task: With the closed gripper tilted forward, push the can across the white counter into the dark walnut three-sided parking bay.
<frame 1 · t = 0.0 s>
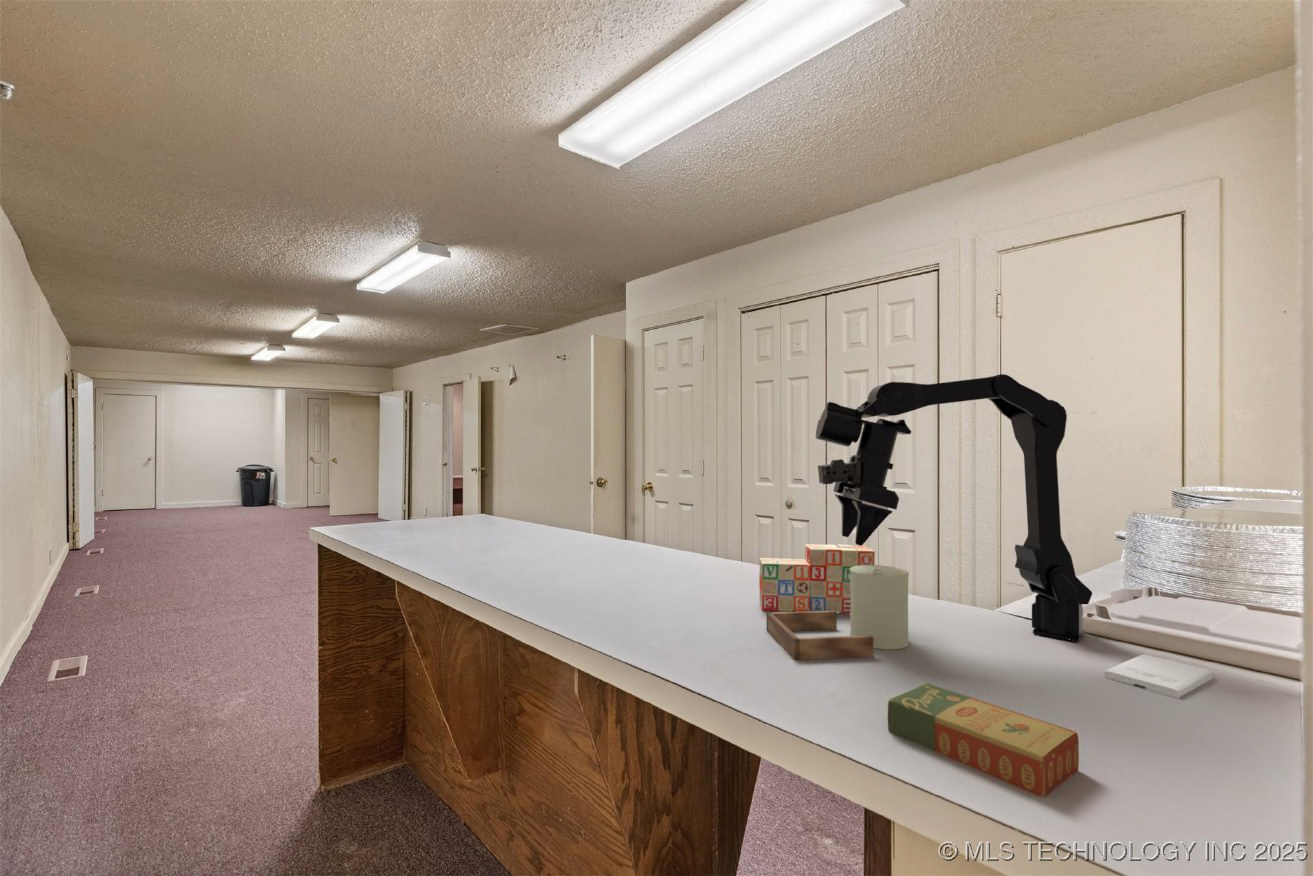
hand: (851, 540, 105), 15 cm above the counter, tool pointing down, fingers open, 9 cm apart
stack of blocks: (815, 610, 119), on the counter
carton: (976, 754, 64), on the counter
can: (878, 641, 99), on the counter
external hard drive: (1158, 682, 84), on the counter
walnut bay: (820, 642, 98), on the counter
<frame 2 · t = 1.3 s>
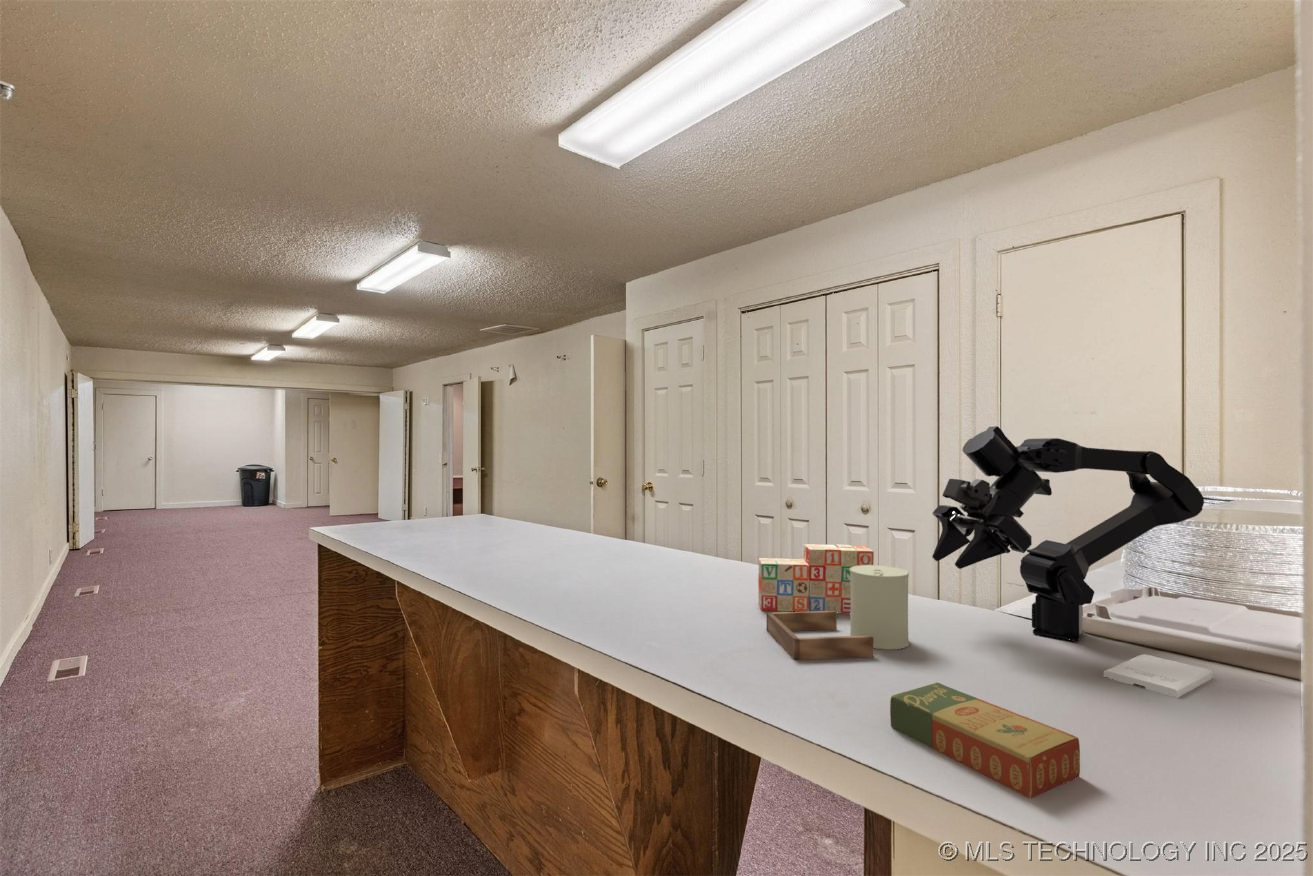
hand: (945, 562, 101), 13 cm above the counter, tool tilted 45°, fingers open, 6 cm apart
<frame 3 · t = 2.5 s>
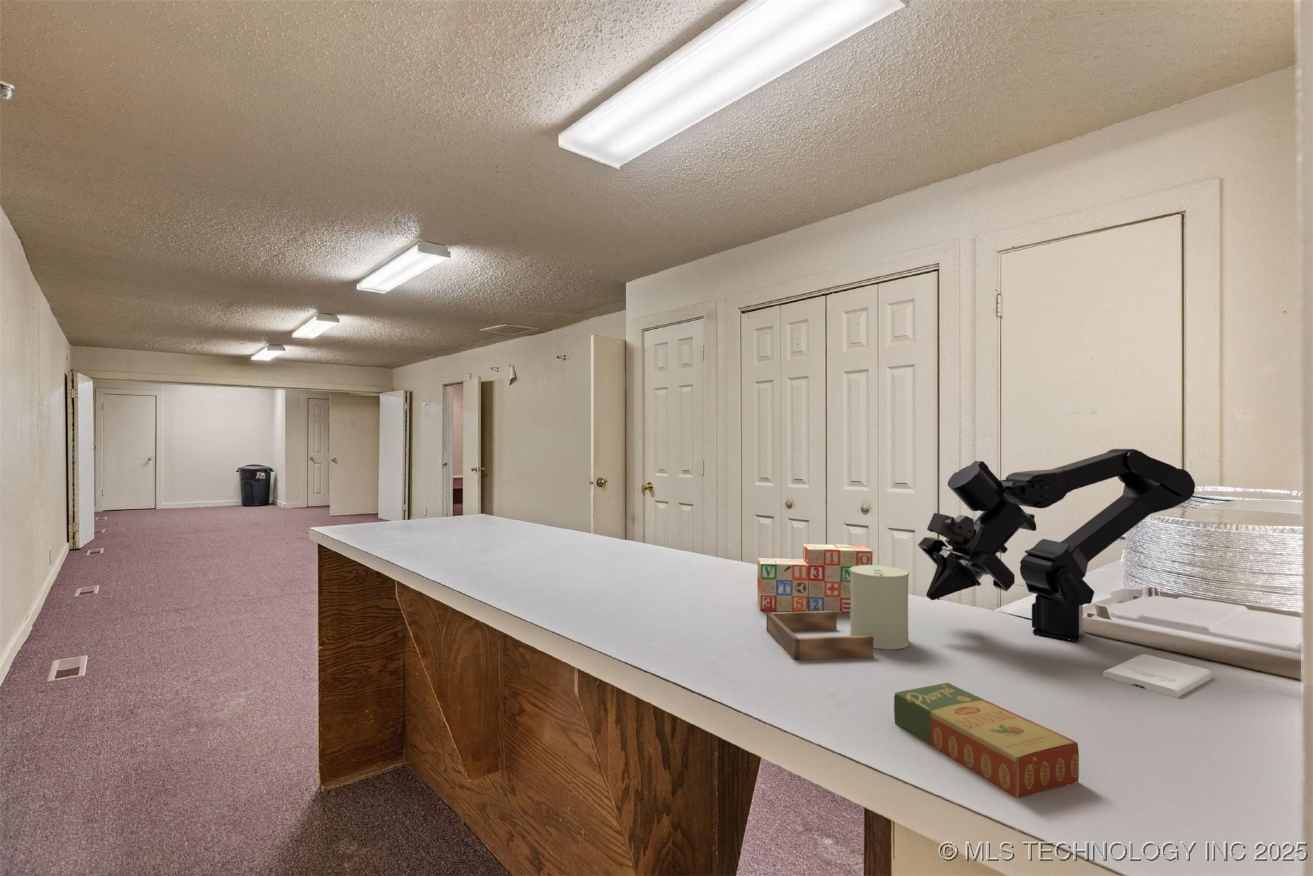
hand: (929, 597, 100), 7 cm above the counter, tool tilted 45°, fingers closed
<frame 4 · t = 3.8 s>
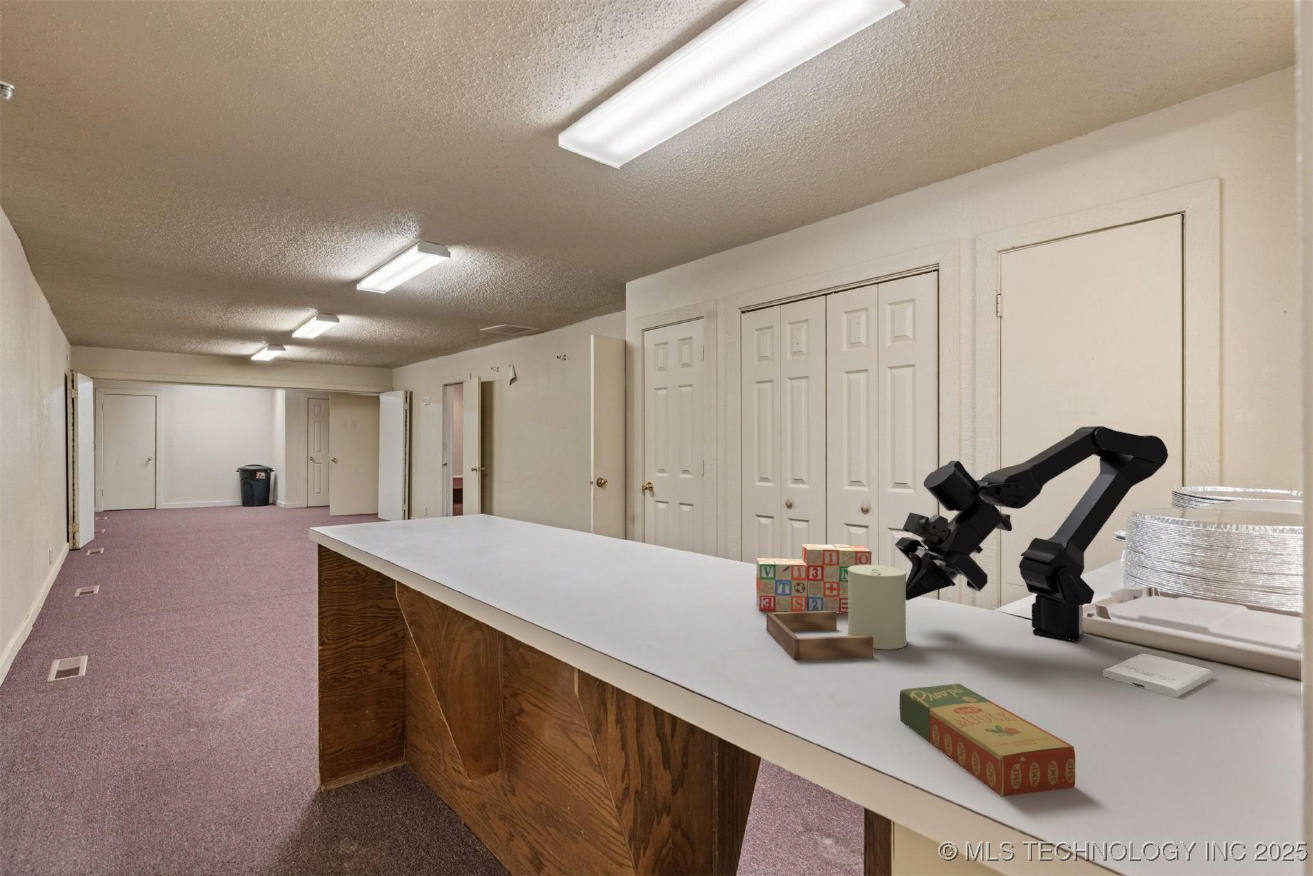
hand: (903, 598, 100), 7 cm above the counter, tool tilted 45°, fingers closed, pressing on can
can: (876, 641, 99), on the counter, touching gripper
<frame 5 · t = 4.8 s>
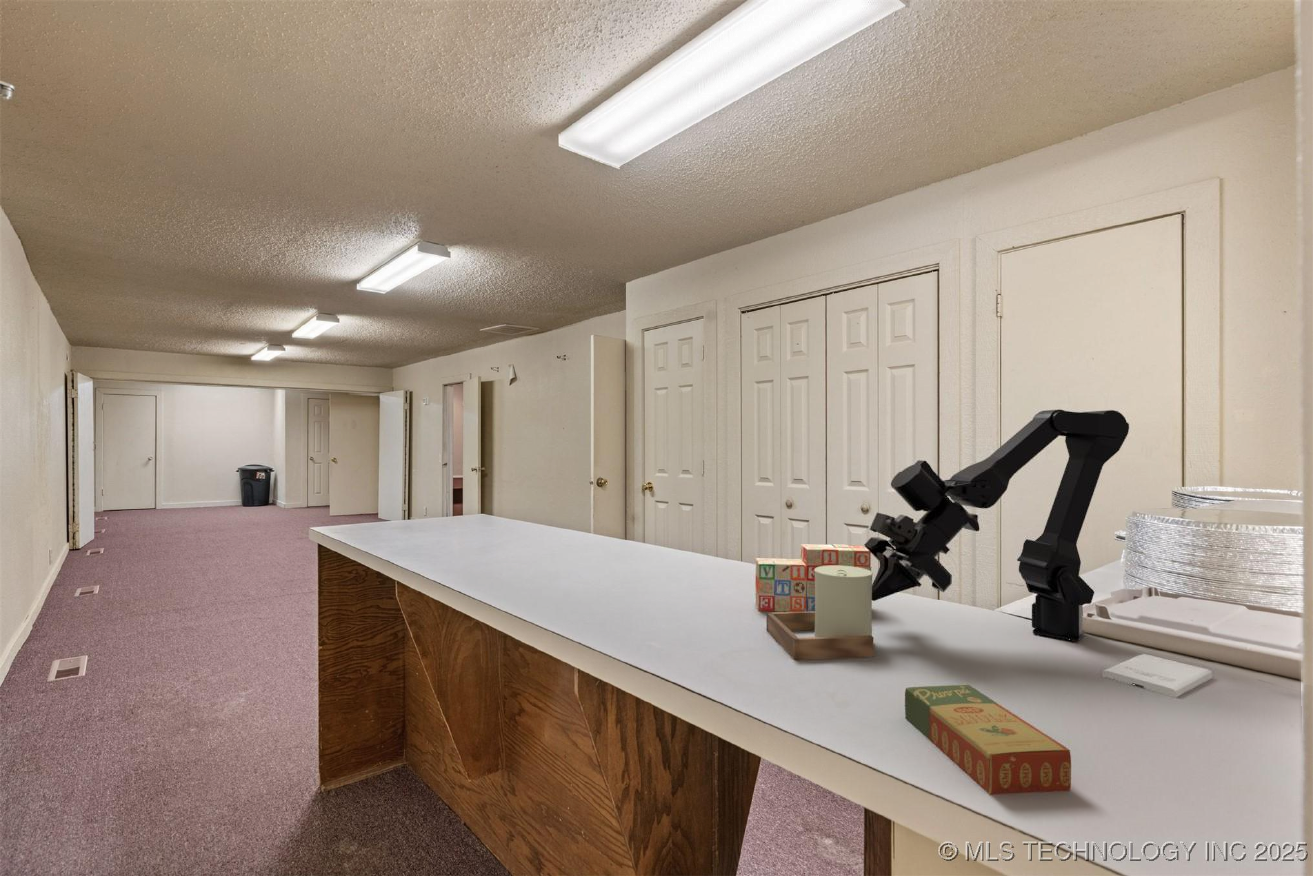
hand: (870, 598, 99), 7 cm above the counter, tool tilted 45°, fingers closed, pressing on can
can: (842, 642, 99), on the counter, touching gripper
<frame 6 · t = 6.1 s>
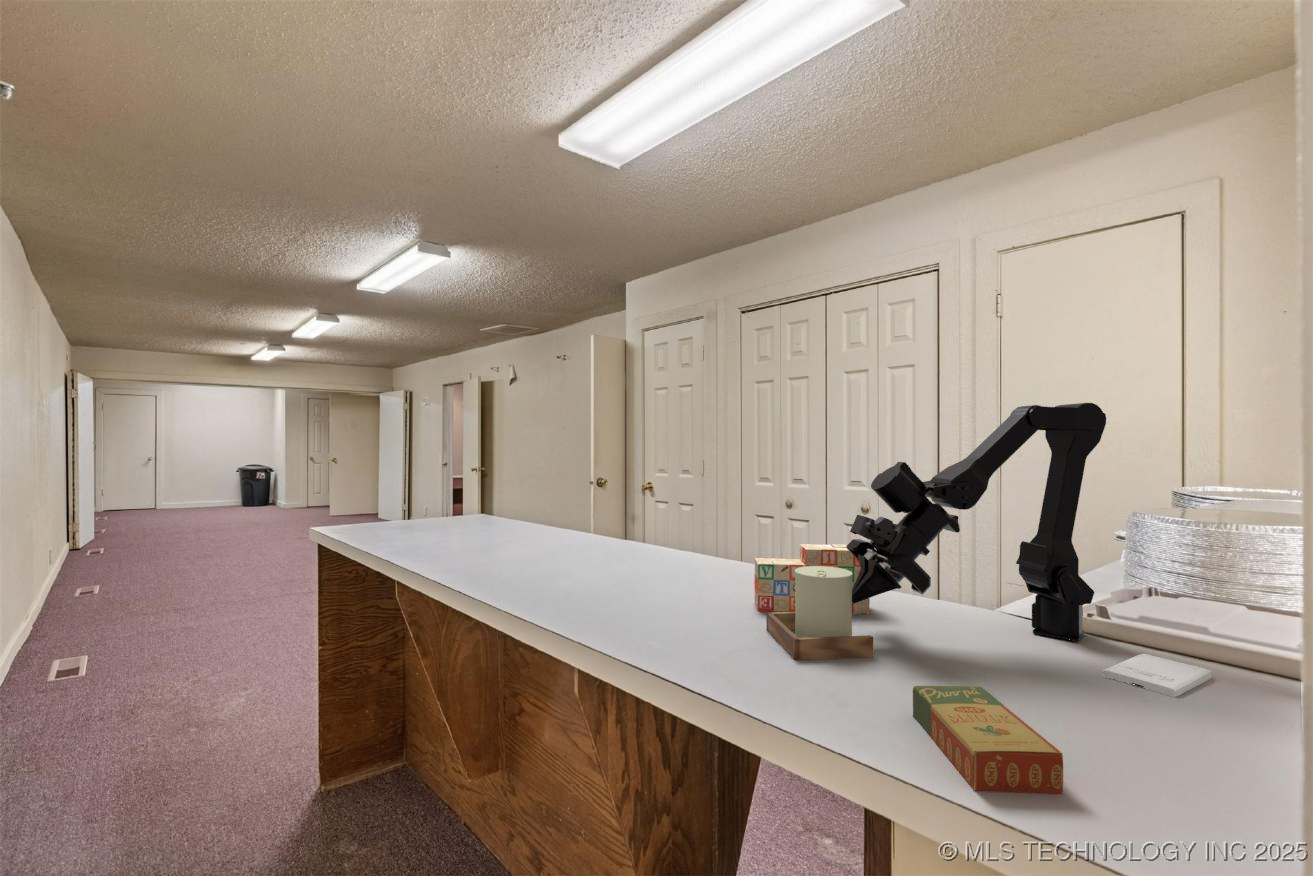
hand: (850, 601, 99), 7 cm above the counter, tool tilted 45°, fingers closed
can: (823, 643, 98), on the counter, touching gripper
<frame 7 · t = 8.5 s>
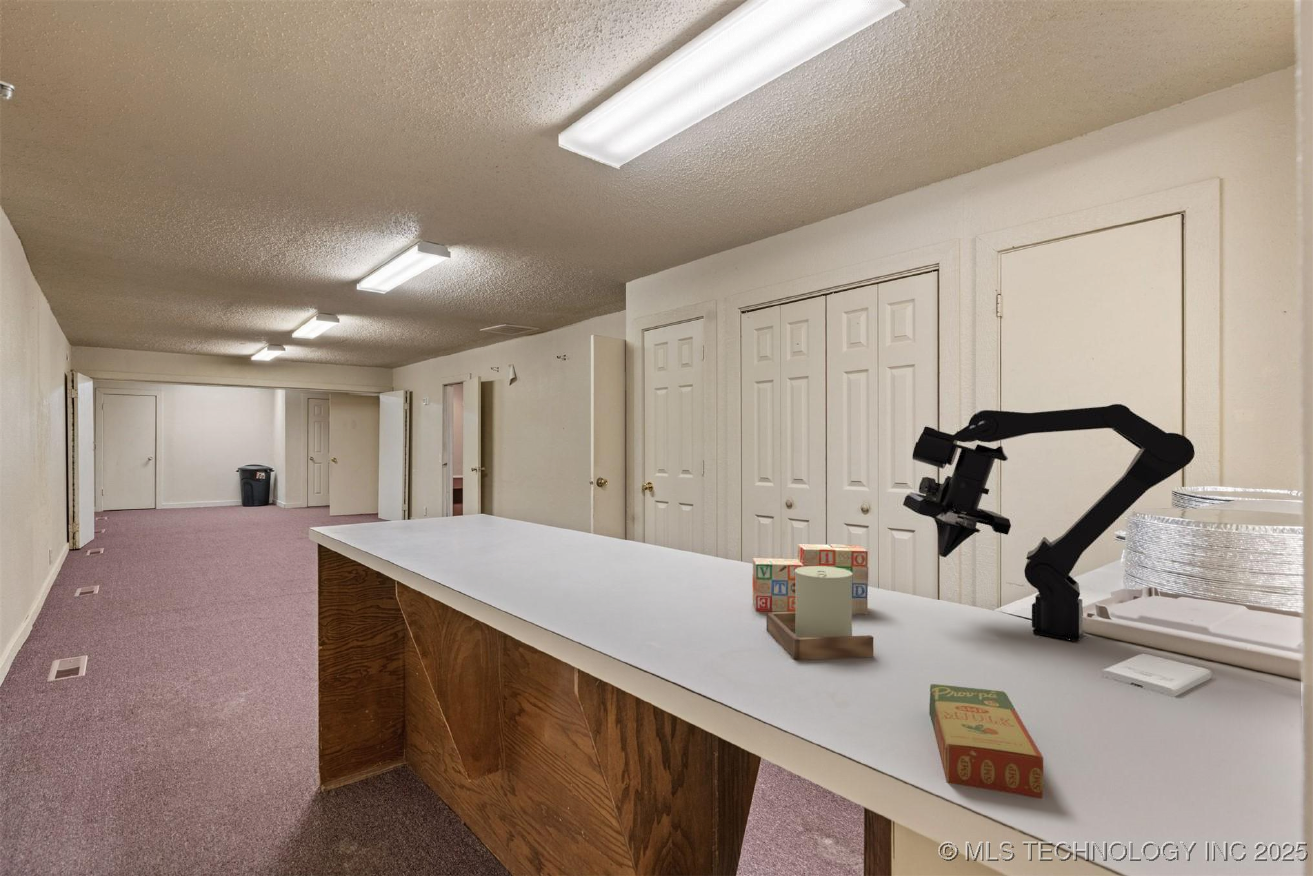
hand: (942, 556, 113), 11 cm above the counter, tool tilted 15°, fingers closed
can: (823, 643, 98), on the counter
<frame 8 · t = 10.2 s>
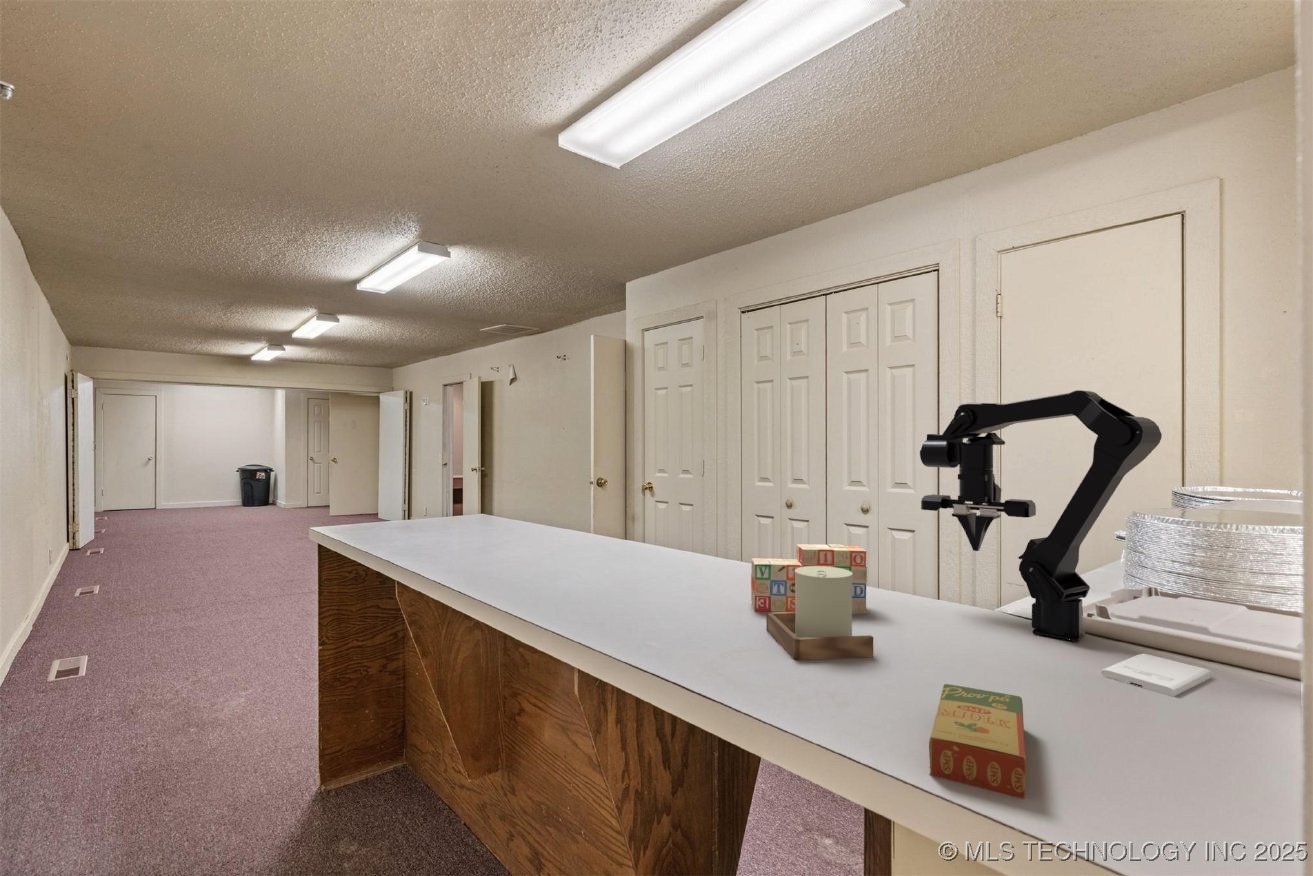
hand: (976, 550, 116), 12 cm above the counter, tool pointing down, fingers closed
at the end: can 0.5 cm from the walnut bay (horizontally); can tilted 0°; can moved 9.5 cm from its start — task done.
